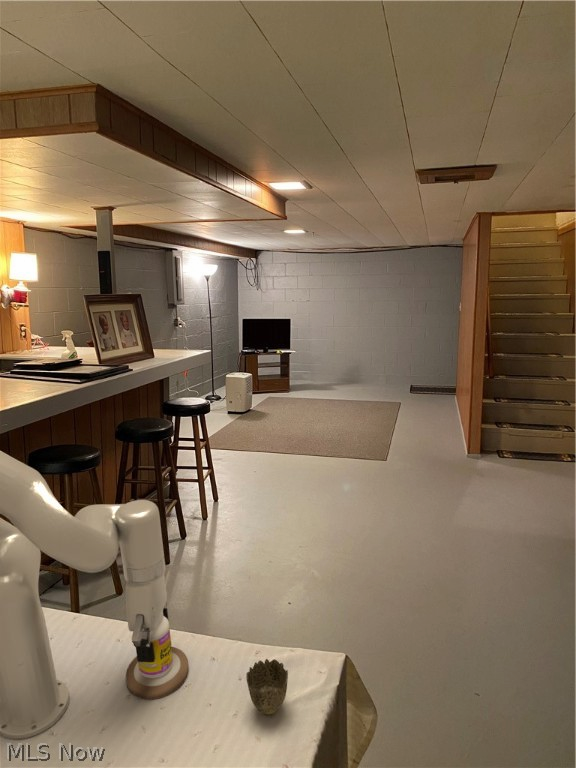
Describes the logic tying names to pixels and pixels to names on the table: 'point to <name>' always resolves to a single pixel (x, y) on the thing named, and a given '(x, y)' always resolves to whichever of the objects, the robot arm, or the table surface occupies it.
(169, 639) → the supplement bottle
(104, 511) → the robot arm
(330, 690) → the table surface
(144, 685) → the plate
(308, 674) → the table surface
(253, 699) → the brown scalloped shell
